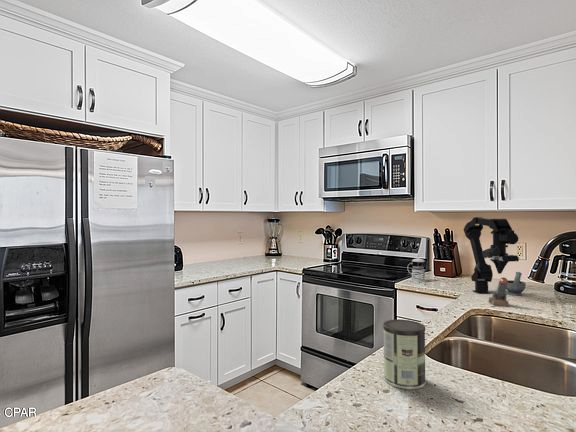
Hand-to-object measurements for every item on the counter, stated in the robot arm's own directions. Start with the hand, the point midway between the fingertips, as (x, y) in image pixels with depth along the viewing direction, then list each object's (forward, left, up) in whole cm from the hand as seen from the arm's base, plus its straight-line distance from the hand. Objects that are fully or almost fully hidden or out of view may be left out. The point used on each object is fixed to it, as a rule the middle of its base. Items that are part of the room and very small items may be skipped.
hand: (499, 273), depth 178 cm
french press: (-53, -16, -13) cm, 57 cm away
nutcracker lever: (+11, -9, -10) cm, 17 cm away
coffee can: (+76, -91, -13) cm, 119 cm away
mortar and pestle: (-8, +16, -13) cm, 22 cm away
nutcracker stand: (+10, -9, -13) cm, 18 cm away
